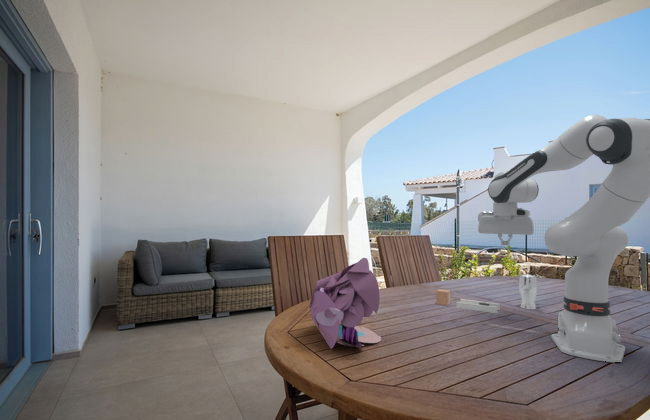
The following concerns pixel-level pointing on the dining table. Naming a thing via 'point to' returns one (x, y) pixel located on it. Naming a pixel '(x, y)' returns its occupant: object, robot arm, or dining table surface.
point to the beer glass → (528, 291)
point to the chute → (478, 306)
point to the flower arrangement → (346, 305)
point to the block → (443, 297)
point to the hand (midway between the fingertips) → (505, 245)
